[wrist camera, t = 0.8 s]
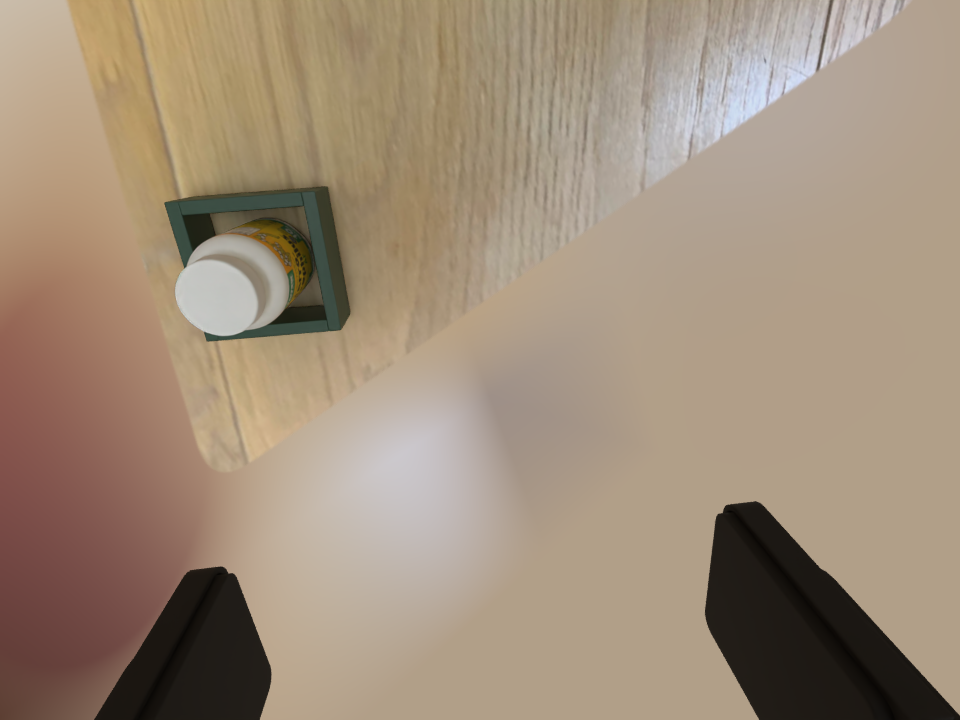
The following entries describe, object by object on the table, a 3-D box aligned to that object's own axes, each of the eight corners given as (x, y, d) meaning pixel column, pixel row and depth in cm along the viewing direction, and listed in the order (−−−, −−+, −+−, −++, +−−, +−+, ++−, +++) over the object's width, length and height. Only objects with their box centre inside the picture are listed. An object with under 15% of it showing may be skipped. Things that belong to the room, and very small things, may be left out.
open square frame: (191, 196, 32) (163, 202, 28) (327, 186, 32) (314, 190, 29) (228, 324, 35) (206, 341, 32) (350, 313, 35) (341, 330, 32)
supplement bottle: (222, 223, 32) (140, 251, 24) (304, 211, 32) (253, 236, 24) (248, 302, 35) (181, 355, 26) (325, 291, 35) (284, 340, 26)
